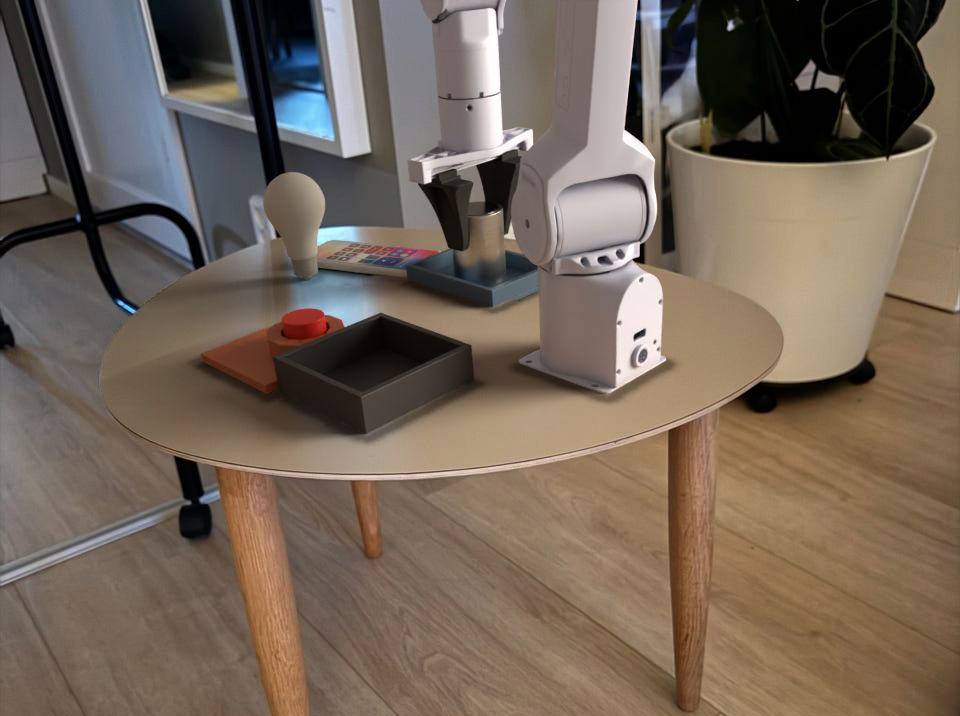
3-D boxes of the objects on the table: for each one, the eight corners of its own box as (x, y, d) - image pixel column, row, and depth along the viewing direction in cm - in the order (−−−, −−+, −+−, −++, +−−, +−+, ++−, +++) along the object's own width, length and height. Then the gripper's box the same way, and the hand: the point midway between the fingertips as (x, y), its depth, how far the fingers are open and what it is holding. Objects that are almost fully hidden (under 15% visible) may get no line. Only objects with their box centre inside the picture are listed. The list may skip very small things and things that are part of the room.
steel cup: (517, 276, 95) (513, 205, 91) (480, 291, 92) (475, 219, 88) (480, 265, 98) (475, 197, 94) (444, 280, 95) (437, 210, 91)
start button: (335, 331, 80) (332, 314, 79) (301, 345, 78) (298, 328, 77) (310, 321, 82) (307, 304, 82) (276, 335, 80) (273, 318, 80)
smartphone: (330, 238, 107) (446, 250, 101) (331, 246, 108) (447, 258, 102) (291, 258, 102) (412, 272, 96) (293, 267, 102) (412, 281, 96)
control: (363, 358, 82) (358, 325, 80) (269, 399, 76) (262, 366, 74) (294, 329, 88) (289, 299, 86) (203, 365, 82) (195, 334, 81)
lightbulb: (332, 288, 96) (314, 179, 91) (272, 291, 97) (252, 183, 91) (340, 267, 102) (324, 163, 96) (284, 271, 102) (264, 167, 96)
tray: (557, 282, 94) (557, 263, 93) (493, 311, 88) (491, 291, 87) (471, 258, 101) (470, 240, 100) (407, 284, 96) (405, 265, 95)
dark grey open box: (475, 384, 76) (471, 344, 74) (366, 439, 69) (360, 397, 68) (385, 349, 83) (380, 312, 81) (279, 396, 76) (271, 356, 75)
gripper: (493, 76, 92) (500, 214, 99) (379, 104, 84) (396, 253, 91) (547, 82, 88) (551, 226, 95) (433, 112, 79) (446, 268, 87)
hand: (478, 240), depth 93 cm, fingers closed on steel cup, 5 cm apart
